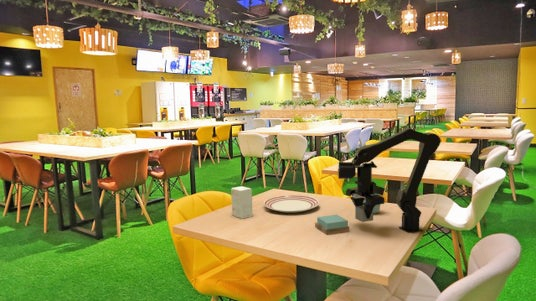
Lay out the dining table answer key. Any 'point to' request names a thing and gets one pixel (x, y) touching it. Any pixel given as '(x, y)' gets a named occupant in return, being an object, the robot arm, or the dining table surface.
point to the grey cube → (362, 214)
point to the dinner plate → (291, 203)
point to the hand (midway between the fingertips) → (364, 216)
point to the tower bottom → (331, 231)
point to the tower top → (332, 222)
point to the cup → (376, 207)
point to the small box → (241, 202)
